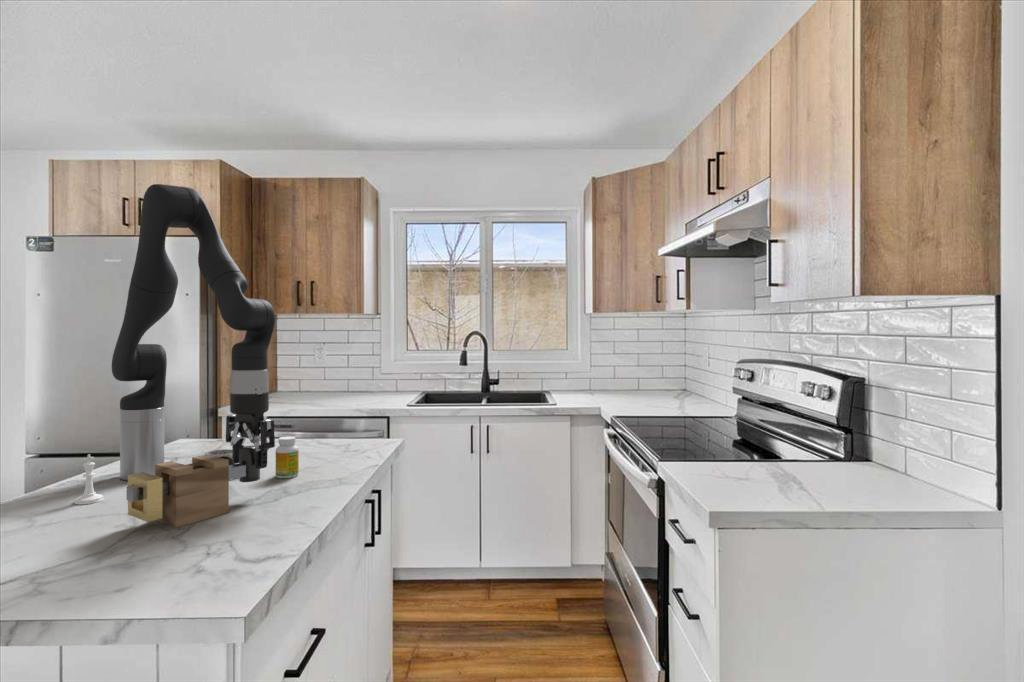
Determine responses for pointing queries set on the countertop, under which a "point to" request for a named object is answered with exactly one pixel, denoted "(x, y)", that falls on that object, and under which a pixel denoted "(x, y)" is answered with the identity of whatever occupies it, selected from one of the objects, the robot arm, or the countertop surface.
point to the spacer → (146, 497)
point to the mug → (222, 454)
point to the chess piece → (89, 485)
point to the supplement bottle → (287, 458)
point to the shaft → (242, 471)
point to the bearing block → (194, 490)
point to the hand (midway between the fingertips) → (249, 465)
